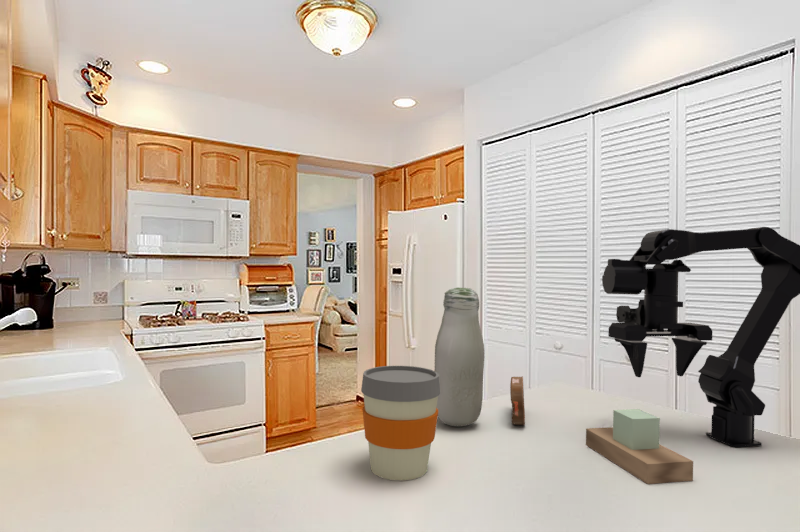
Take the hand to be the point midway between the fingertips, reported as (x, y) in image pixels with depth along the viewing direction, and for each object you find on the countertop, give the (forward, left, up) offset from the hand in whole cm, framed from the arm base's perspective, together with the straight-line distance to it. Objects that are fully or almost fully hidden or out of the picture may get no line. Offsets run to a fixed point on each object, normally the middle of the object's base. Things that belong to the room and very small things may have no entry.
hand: (659, 376), depth 92 cm
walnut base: (+12, +9, -12) cm, 19 cm away
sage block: (+12, +9, -9) cm, 17 cm away
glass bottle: (+36, -13, -12) cm, 40 cm away
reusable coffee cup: (+52, +6, -12) cm, 54 cm away
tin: (+22, -15, -12) cm, 29 cm away
